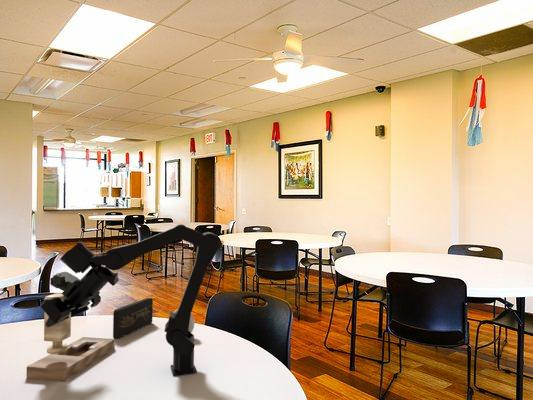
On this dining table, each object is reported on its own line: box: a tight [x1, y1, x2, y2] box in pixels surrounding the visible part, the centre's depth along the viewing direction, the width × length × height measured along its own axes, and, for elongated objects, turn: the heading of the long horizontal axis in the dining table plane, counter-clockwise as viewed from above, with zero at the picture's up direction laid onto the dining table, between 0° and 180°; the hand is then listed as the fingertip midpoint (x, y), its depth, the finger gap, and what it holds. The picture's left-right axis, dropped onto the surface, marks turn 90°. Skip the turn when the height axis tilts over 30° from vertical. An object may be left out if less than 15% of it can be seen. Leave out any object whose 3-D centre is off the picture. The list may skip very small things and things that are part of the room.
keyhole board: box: [25, 336, 116, 383], centre depth 116 cm, size 24×11×3 cm, turn 171°
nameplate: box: [112, 297, 154, 340], centre depth 147 cm, size 21×2×10 cm, turn 163°
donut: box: [173, 308, 196, 333], centre depth 141 cm, size 10×3×10 cm, turn 58°
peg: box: [43, 292, 72, 355], centre depth 109 cm, size 5×5×15 cm
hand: (53, 323), depth 109 cm, fingers closed on peg, 5 cm apart
